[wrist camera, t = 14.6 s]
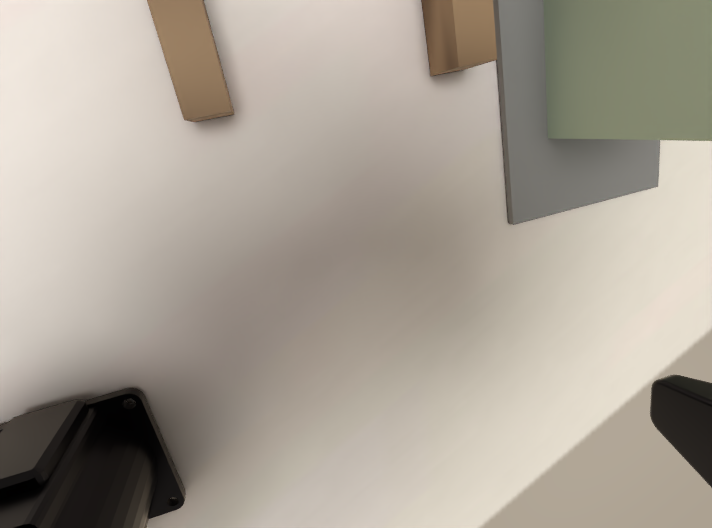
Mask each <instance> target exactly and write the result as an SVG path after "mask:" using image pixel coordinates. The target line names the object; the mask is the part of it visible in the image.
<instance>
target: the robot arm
mask: <svg viewBox="0 0 712 528" xmlns="http://www.w3.org/2000/svg"><path fill="white" fill-rule="evenodd" d="M126 399H133V400H134V401H135V403H132V404H130V403H127V402H126ZM650 416H651V420H652V422H653V424H654V425H655V427H656V428H657V429H658V430H659V431H660V433H661V434H662V435H663V436H664V437H665V438H666V439H667V440H668V441H669V442H670V443H671V444H672V445H673V446H674V447H675V449H676V450H677V451H678V452H679V453H680V454H681V455H682V456H683V457H684V458H685V459H686V460H687V462H689V464H690V465H691V466H692V467H693V468H694V469H695V470H696V471H697V472H698V473H699V474H700V475H701V476H702V477H703V478H704V480H705V481H706V482H707V483H708V484H709V485H710V486H711V487H712V383H709V382H705V381H701V380H697V379H692V378H688V377H684V376H680V375H670V376H667V377H664V378H661V379H658V380H656V381H654V383H653V384H652V388H651V407H650ZM185 495H186V493H185V490H184V487H183V485H182V483H181V480H180V478H179V476H178V473H177V471H176V469H175V466H174V464H173V462H172V459H171V457H170V455H169V452H168V450H167V448H166V445H165V443H164V441H163V438H162V436H161V434H160V431H159V429H158V427H157V424H156V422H155V420H154V417H153V415H152V413H151V410H150V408H149V406H148V403H147V401H146V399H145V396H144V394H143V393H142V392H141V391H140V390H138V389H135V388H128V389H124V390H121V391H117V392H114V393H110V394H107V395H103V396H100V397H96V398H93V399H89V400H86V401H84V400H73V401H69V402H66V403H62V404H59V405H55V406H52V407H48V408H45V409H41V410H38V411H34V412H31V413H27V414H24V415H20V416H17V417H14V418H12V419H11V421H10V422H9V423H6V424H2V425H0V528H146V527H147V523H148V519H150V518H153V517H156V516H159V515H162V514H165V513H168V512H171V511H174V510H177V509H179V508H181V506H182V505H183V504H184V501H185ZM171 497H176V498H177V499H170V498H171Z"/></svg>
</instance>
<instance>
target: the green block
mask: <svg viewBox="0 0 712 528" xmlns="http://www.w3.org/2000/svg"><path fill="white" fill-rule="evenodd" d="M543 4H544V35H545V66H546V97H547V127H548V138H551V139H622V140H692V141H712V0H543Z"/></svg>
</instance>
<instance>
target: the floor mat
mask: <svg viewBox="0 0 712 528" xmlns="http://www.w3.org/2000/svg"><path fill="white" fill-rule="evenodd" d="M493 8H494V22H495V36H496V50H497V69H498V83H499V97H500V111H501V124H502V138H503V152H504V166H505V180H506V194H507V208H508V222H509V223H510V224H513V225H514V224H518V223H522V222H526V221H530V220H533V219H537V218H541V217H545V216H548V215H552V214H556V213H560V212H564V211H567V210H571V209H575V208H579V207H582V206H586V205H590V204H594V203H598V202H601V201H605V200H609V199H613V198H617V197H620V196H624V195H628V194H632V193H635V192H639V191H643V190H647V189H651V188H654V187H658V176H659V155H660V140H622V139H551V138H548V127H547V97H546V66H545V35H544V4H543V0H493Z"/></svg>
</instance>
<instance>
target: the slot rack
mask: <svg viewBox="0 0 712 528" xmlns="http://www.w3.org/2000/svg"><path fill="white" fill-rule="evenodd" d="M147 2H148V5H149V8H150V11H151V15H152V18H153V21H154V24H155V27H156V31H157V34H158V37H159V40H160V44H161V47H162V50H163V53H164V56H165V60H166V63H167V66H168V69H169V73H170V76H171V79H172V82H173V85H174V89H175V92H176V95H177V98H178V102H179V105H180V108H181V111H182V114H183V118H184V120H187V121H191V122H197V121H202V120H207V119H212V118H217V117H223V116H228V115H233V114H234V111H233V107H232V104H231V100H230V96H229V93H228V89H227V85H226V82H225V78H224V74H223V70H222V67H221V63H220V59H219V56H218V52H217V48H216V45H215V41H214V37H213V34H212V30H211V26H210V23H209V19H208V15H207V12H206V8H205V4H204V0H147ZM422 8H423V16H424V24H425V32H426V41H427V49H428V57H429V65H430V74H431V76H434V75H439V74H444V73H449V72H454V71H459V70H464V69H468V68H471V67H474V66H478V65H481V64H484V63H488V62H491V61H494V60H497V50H496V36H495V22H494V8H493V0H422Z"/></svg>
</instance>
